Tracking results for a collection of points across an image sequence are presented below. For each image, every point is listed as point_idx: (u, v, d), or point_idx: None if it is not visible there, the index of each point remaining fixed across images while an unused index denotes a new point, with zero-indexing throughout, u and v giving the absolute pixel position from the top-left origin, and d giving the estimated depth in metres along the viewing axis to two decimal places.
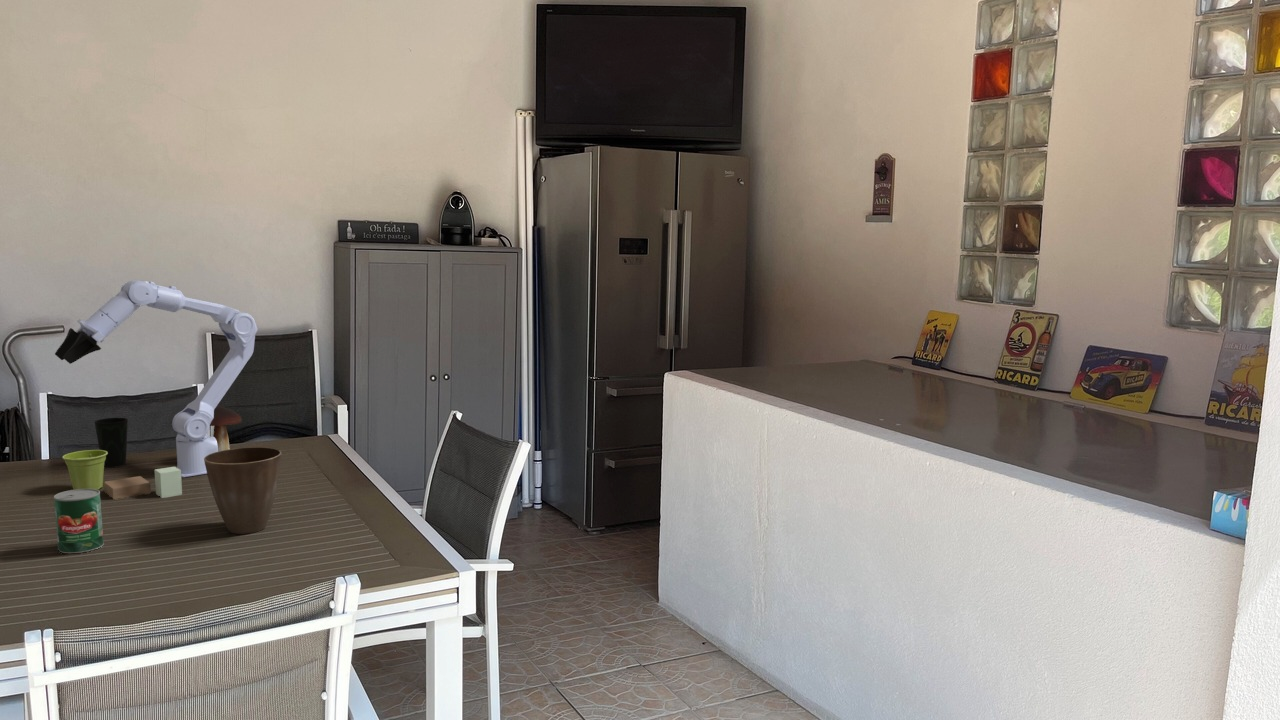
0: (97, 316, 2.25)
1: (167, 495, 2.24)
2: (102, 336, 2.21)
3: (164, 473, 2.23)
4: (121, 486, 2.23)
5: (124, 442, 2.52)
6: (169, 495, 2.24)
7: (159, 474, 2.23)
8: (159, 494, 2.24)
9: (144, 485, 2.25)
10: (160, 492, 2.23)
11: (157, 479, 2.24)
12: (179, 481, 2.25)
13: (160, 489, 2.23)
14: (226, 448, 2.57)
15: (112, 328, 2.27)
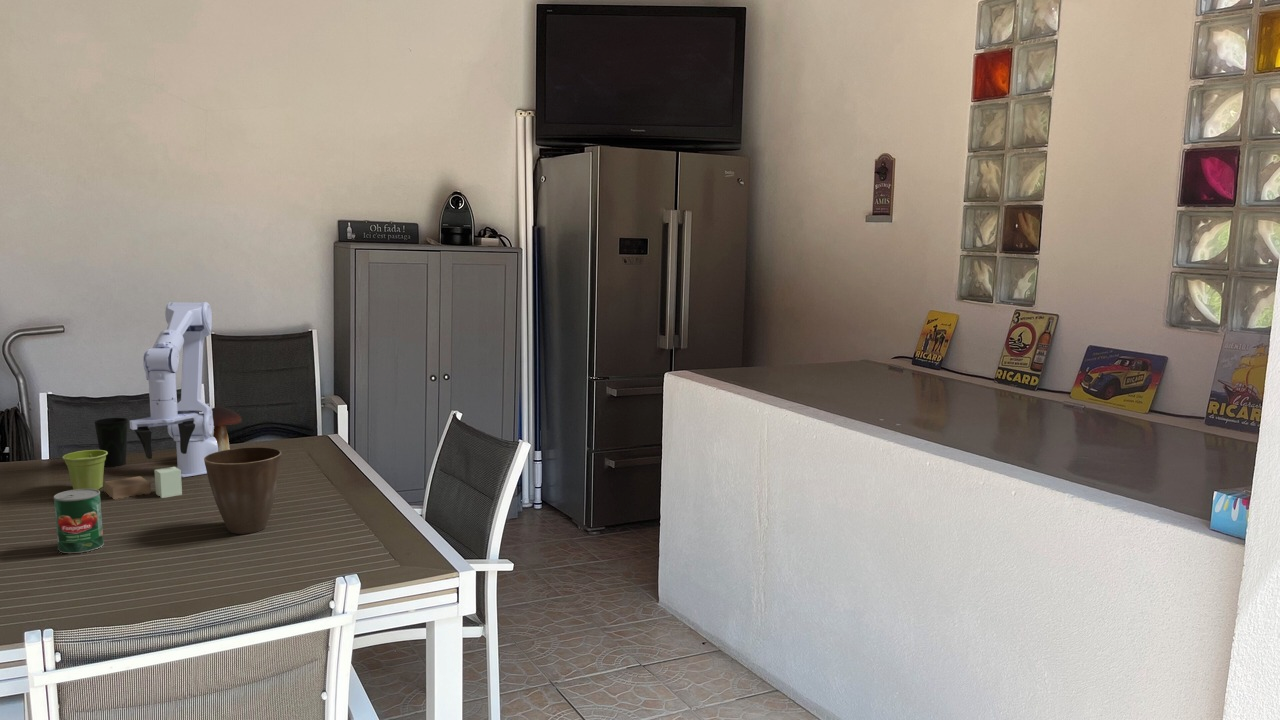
0: (174, 405, 2.23)
1: (167, 495, 2.24)
2: None
3: (164, 473, 2.23)
4: (121, 486, 2.23)
5: (124, 442, 2.52)
6: (169, 495, 2.24)
7: (159, 474, 2.23)
8: (159, 494, 2.24)
9: (144, 485, 2.25)
10: (160, 492, 2.23)
11: (157, 479, 2.24)
12: (179, 481, 2.25)
13: (160, 489, 2.23)
14: (226, 448, 2.57)
15: None
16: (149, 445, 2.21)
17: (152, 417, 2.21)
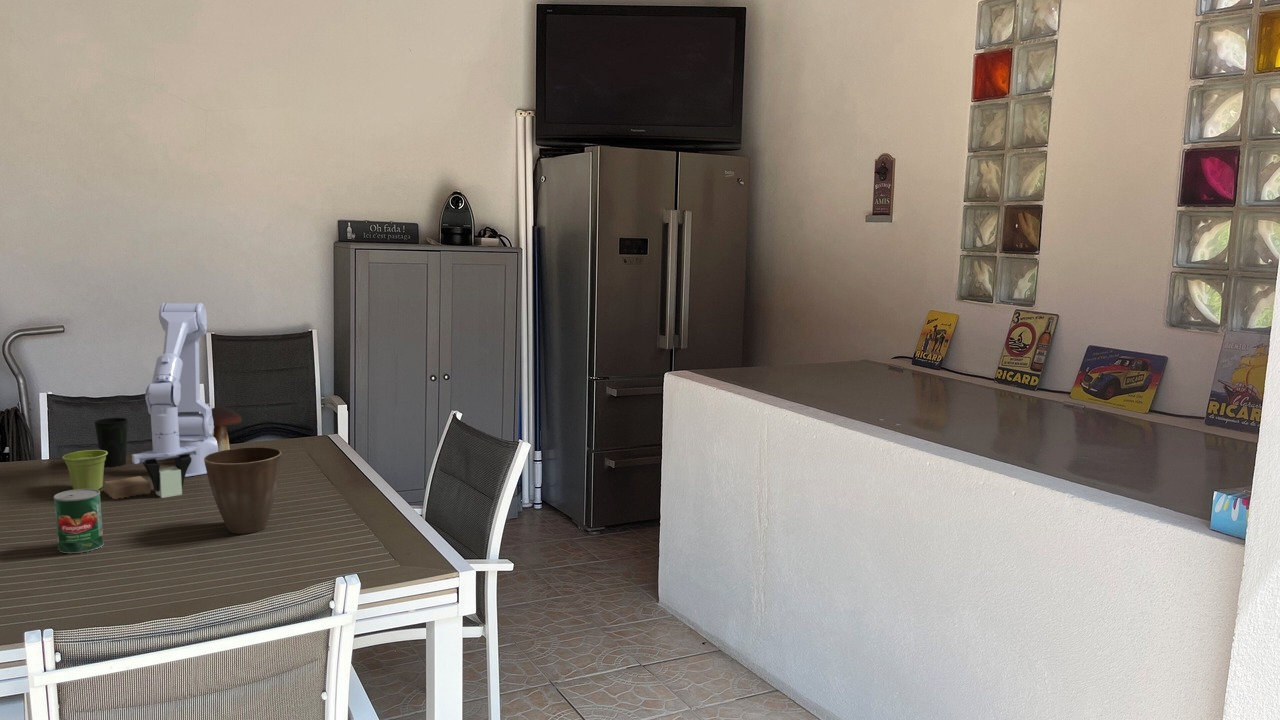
0: (176, 439, 2.24)
1: (167, 495, 2.24)
2: None
3: (164, 473, 2.23)
4: (121, 486, 2.23)
5: (124, 442, 2.52)
6: (169, 495, 2.24)
7: (159, 474, 2.23)
8: (159, 494, 2.24)
9: (144, 485, 2.25)
10: (160, 492, 2.23)
11: None
12: (179, 481, 2.25)
13: (160, 489, 2.23)
14: (226, 448, 2.57)
15: None
16: (157, 478, 2.22)
17: (154, 451, 2.22)
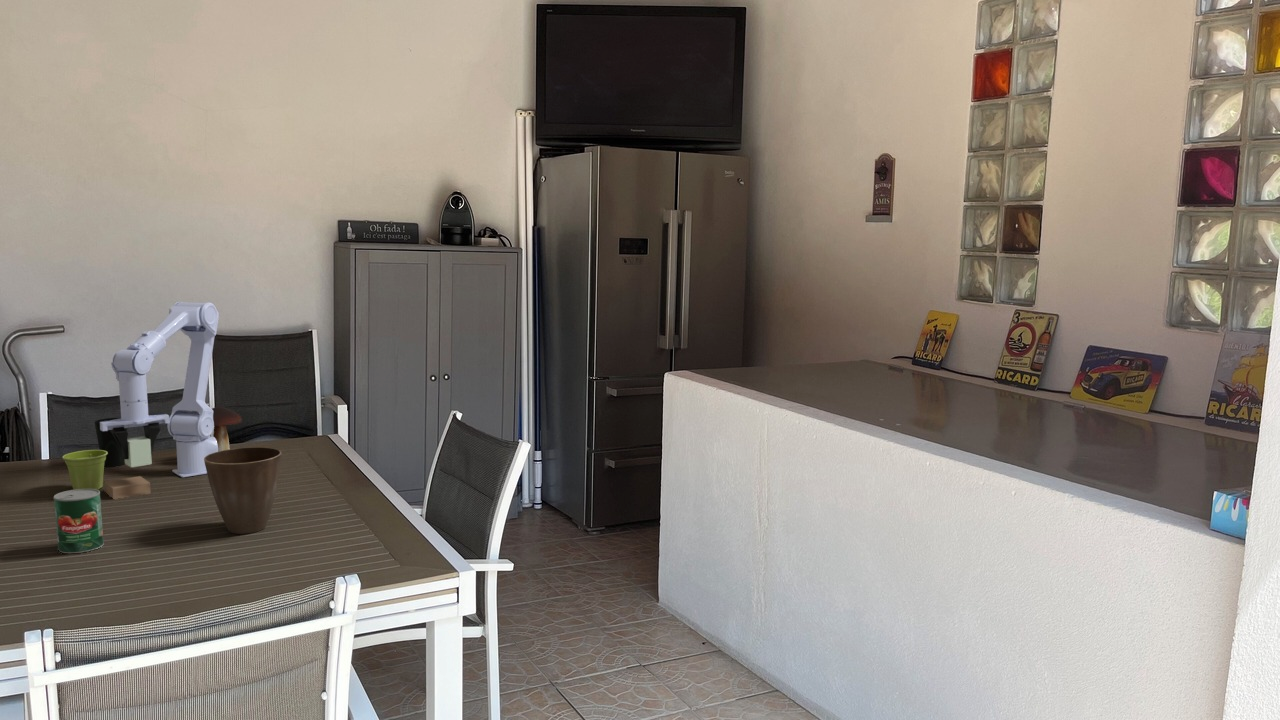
0: (145, 407, 2.23)
1: (137, 464, 2.23)
2: None
3: (133, 442, 2.22)
4: (121, 486, 2.23)
5: None
6: (139, 464, 2.24)
7: (128, 443, 2.22)
8: (128, 463, 2.23)
9: (144, 485, 2.25)
10: (129, 461, 2.23)
11: None
12: (149, 450, 2.25)
13: (129, 458, 2.23)
14: (226, 448, 2.57)
15: None
16: (125, 446, 2.22)
17: (122, 418, 2.22)
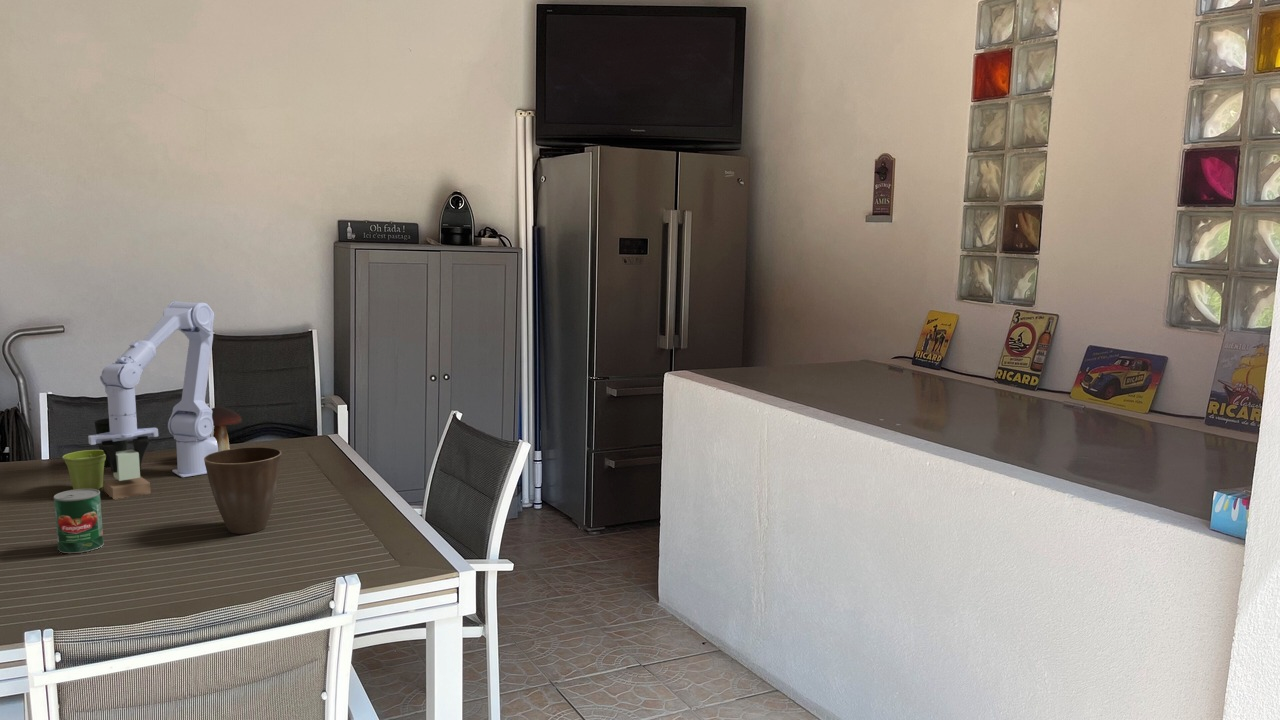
0: (133, 420, 2.24)
1: (125, 478, 2.24)
2: None
3: (122, 456, 2.23)
4: (121, 486, 2.23)
5: (124, 442, 2.52)
6: (127, 478, 2.24)
7: (116, 457, 2.23)
8: (117, 477, 2.24)
9: (144, 485, 2.25)
10: (118, 475, 2.23)
11: None
12: (137, 464, 2.25)
13: (118, 471, 2.23)
14: (226, 448, 2.57)
15: None
16: (114, 459, 2.23)
17: (111, 432, 2.22)
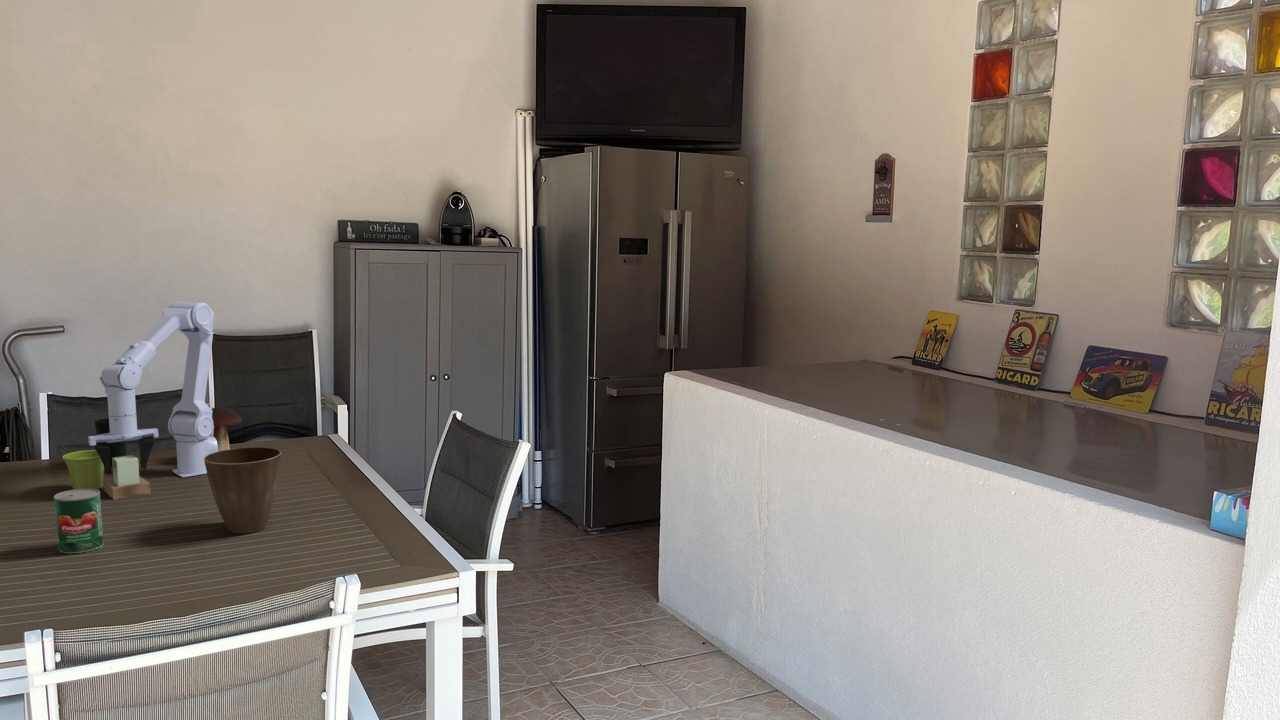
0: (133, 421, 2.24)
1: (124, 483, 2.24)
2: None
3: (121, 461, 2.23)
4: (121, 486, 2.23)
5: (124, 442, 2.52)
6: (126, 483, 2.24)
7: (116, 462, 2.23)
8: (116, 482, 2.24)
9: (144, 485, 2.25)
10: (117, 480, 2.24)
11: (114, 467, 2.24)
12: (136, 470, 2.25)
13: (117, 477, 2.23)
14: (226, 448, 2.57)
15: None
16: (108, 461, 2.22)
17: (111, 433, 2.23)
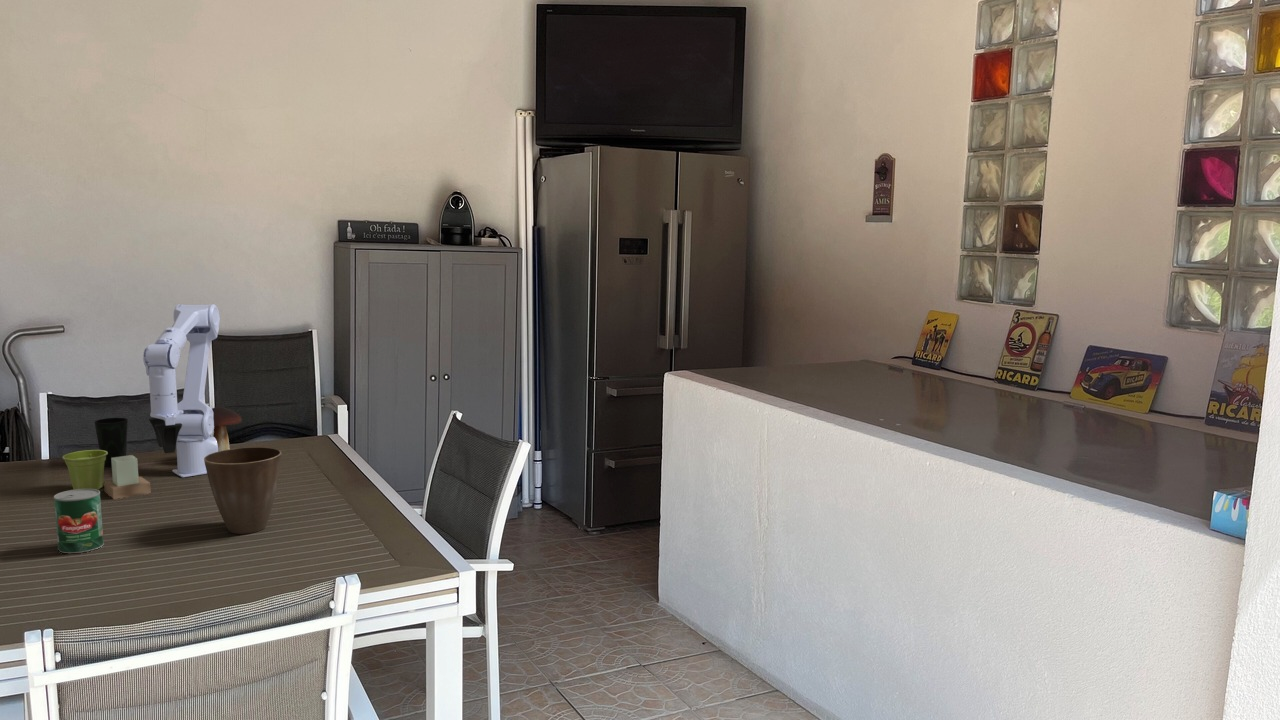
0: None
1: (123, 483, 2.24)
2: None
3: (120, 461, 2.23)
4: (121, 486, 2.23)
5: (124, 442, 2.52)
6: (125, 483, 2.24)
7: (115, 462, 2.23)
8: (115, 482, 2.24)
9: (144, 485, 2.26)
10: (116, 480, 2.23)
11: (113, 467, 2.24)
12: (135, 469, 2.25)
13: (116, 477, 2.23)
14: (226, 448, 2.57)
15: None
16: None
17: (169, 412, 2.26)
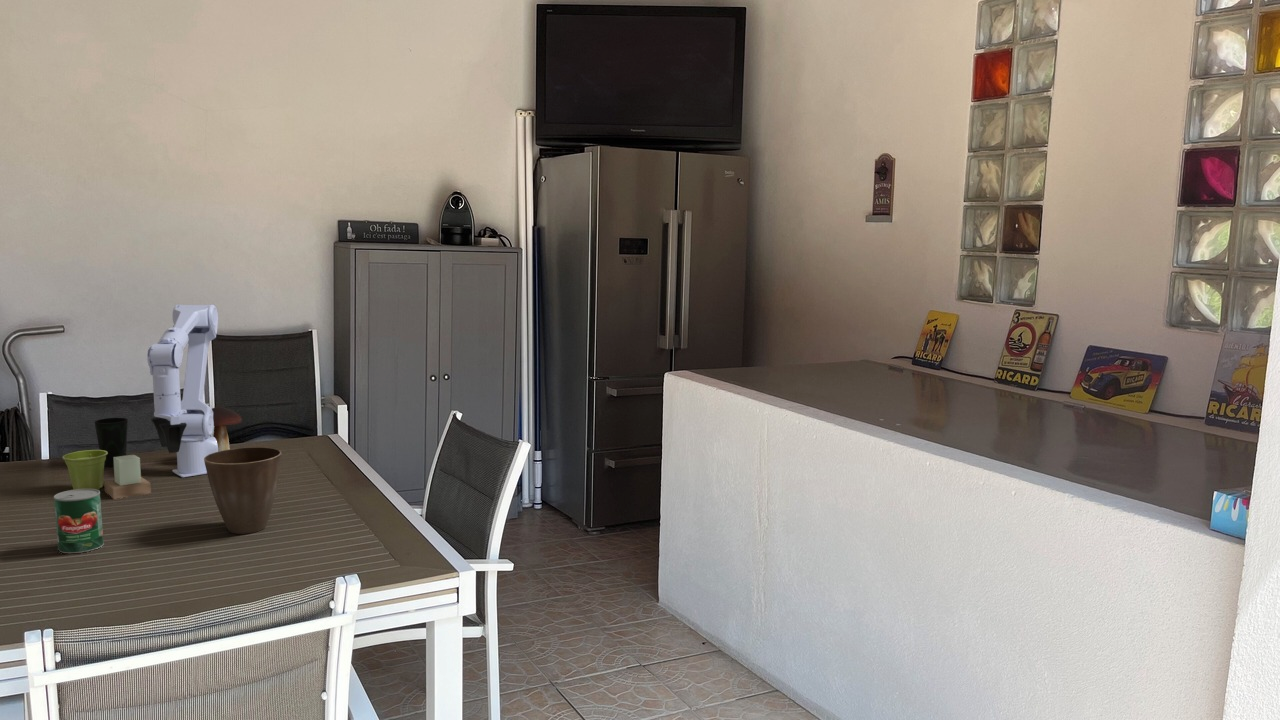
0: None
1: (126, 483, 2.24)
2: None
3: (123, 460, 2.24)
4: (121, 486, 2.23)
5: (124, 442, 2.52)
6: (128, 483, 2.25)
7: (118, 461, 2.23)
8: (118, 482, 2.25)
9: (144, 485, 2.26)
10: (119, 479, 2.24)
11: (116, 467, 2.25)
12: (138, 469, 2.26)
13: (119, 476, 2.24)
14: (226, 448, 2.57)
15: None
16: None
17: (173, 411, 2.26)
